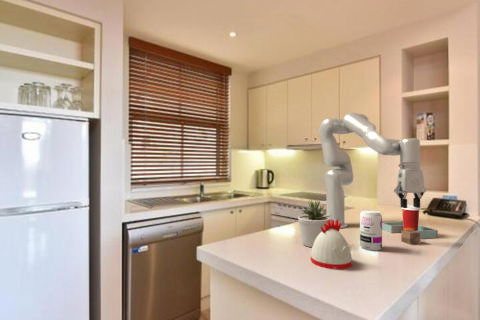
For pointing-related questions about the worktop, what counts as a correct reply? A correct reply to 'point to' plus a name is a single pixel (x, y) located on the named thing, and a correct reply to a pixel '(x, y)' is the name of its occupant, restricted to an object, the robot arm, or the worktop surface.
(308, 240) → the potted plant
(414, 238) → the walnut block
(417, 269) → the worktop surface
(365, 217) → the supplement can
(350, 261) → the white crested dome
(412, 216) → the paper cup
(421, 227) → the caddy
